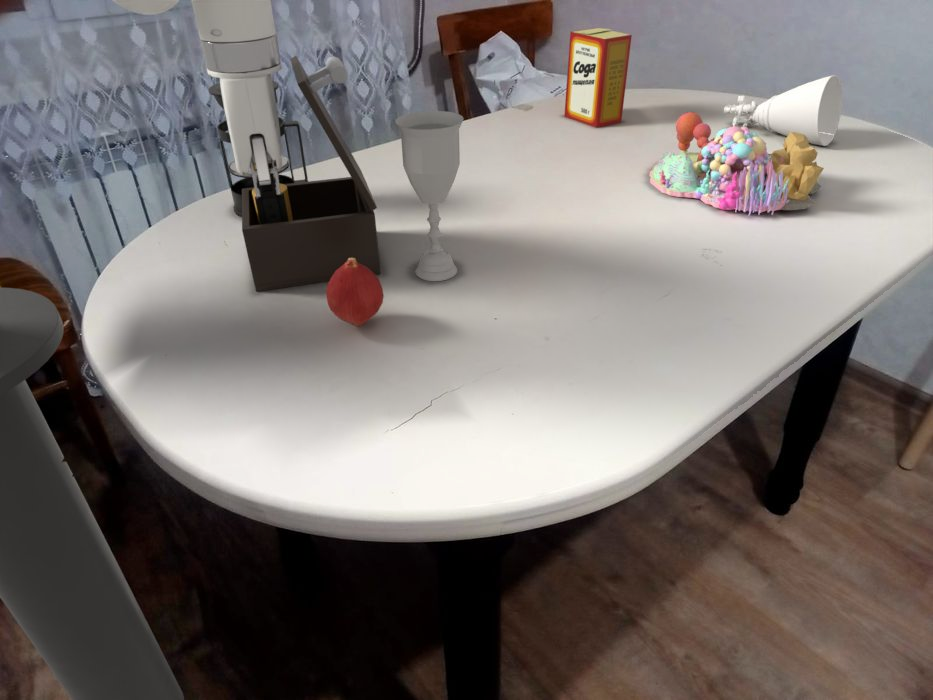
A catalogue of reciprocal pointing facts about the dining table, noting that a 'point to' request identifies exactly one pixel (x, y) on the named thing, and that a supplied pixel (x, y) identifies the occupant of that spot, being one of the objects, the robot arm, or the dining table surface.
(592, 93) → the baking soda box
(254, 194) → the pod
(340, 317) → the red fruit
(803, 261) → the dining table surface
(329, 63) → the wooden box lid
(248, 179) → the french press
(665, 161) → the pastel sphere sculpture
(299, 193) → the dark brown wooden crate
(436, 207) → the chalice
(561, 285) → the dining table surface
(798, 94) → the rocket engine
